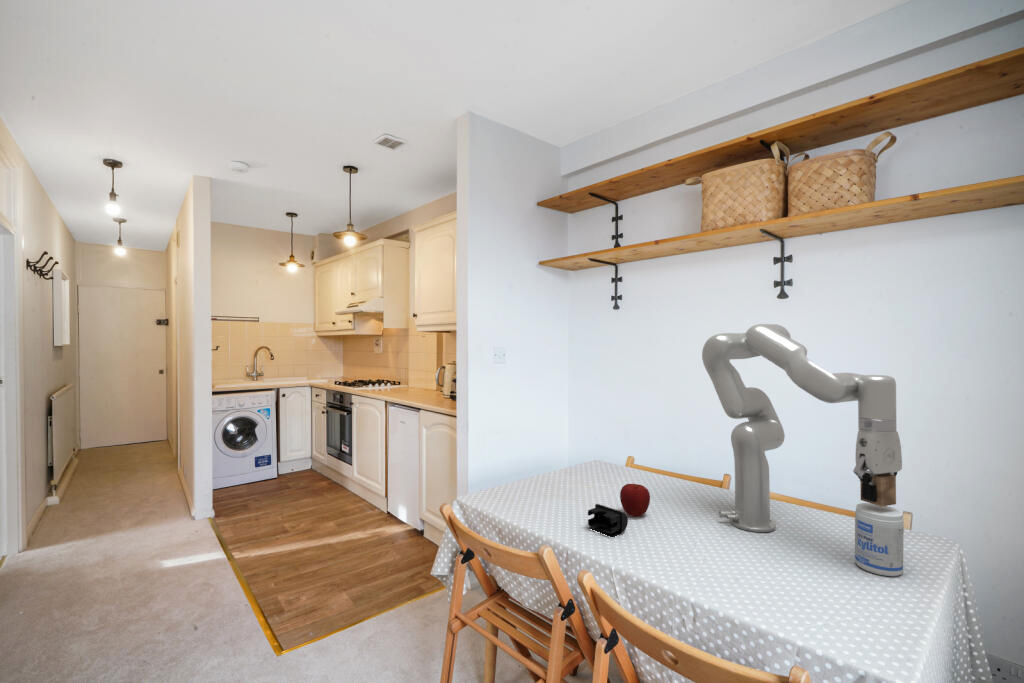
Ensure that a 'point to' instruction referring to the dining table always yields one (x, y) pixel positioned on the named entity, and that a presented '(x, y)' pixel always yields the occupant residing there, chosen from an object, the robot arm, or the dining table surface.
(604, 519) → the end cap
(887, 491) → the walnut block
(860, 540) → the supplement tub
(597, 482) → the dining table surface
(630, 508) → the apple
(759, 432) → the robot arm
